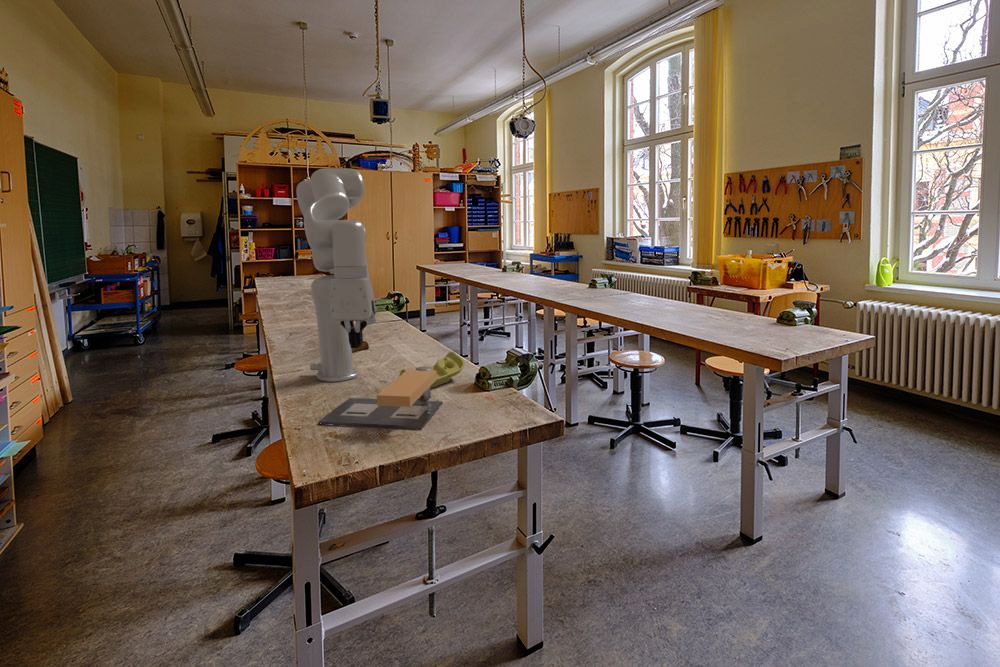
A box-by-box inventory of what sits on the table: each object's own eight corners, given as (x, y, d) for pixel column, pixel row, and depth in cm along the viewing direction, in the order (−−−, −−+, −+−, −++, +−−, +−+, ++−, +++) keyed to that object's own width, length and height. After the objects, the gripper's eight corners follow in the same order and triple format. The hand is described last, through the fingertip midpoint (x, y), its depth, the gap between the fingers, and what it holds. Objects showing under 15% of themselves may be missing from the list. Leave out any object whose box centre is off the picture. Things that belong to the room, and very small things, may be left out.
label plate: (318, 424, 138) (316, 402, 137) (358, 394, 161) (356, 374, 159) (421, 429, 134) (420, 406, 132) (447, 397, 156) (447, 377, 155)
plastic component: (421, 385, 160) (399, 365, 165) (416, 405, 164) (395, 385, 169) (471, 366, 174) (449, 348, 179) (465, 384, 178) (444, 366, 183)
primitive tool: (329, 361, 199) (328, 351, 199) (319, 359, 203) (318, 349, 202) (370, 350, 215) (370, 341, 214) (360, 348, 218) (360, 339, 217)
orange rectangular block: (377, 405, 133) (376, 395, 132) (412, 374, 157) (412, 366, 157) (410, 406, 131) (409, 396, 131) (440, 375, 156) (440, 366, 155)
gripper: (314, 274, 136) (321, 350, 139) (374, 274, 133) (379, 351, 137) (329, 271, 143) (335, 343, 147) (386, 271, 140) (390, 344, 144)
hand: (356, 346), depth 142 cm, fingers closed
